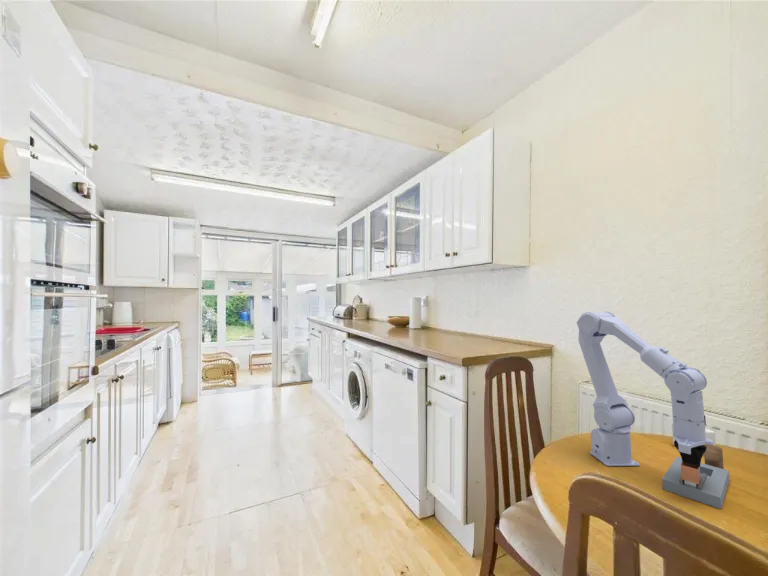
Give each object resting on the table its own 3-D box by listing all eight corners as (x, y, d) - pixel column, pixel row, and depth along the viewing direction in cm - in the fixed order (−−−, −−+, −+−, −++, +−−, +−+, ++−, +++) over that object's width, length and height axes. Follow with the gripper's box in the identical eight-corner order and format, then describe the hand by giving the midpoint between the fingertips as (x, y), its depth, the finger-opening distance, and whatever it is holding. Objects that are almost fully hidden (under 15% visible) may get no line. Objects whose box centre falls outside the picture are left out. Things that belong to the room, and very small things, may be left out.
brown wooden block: (714, 474, 84) (712, 450, 85) (701, 467, 88) (699, 444, 88) (728, 474, 84) (726, 450, 85) (714, 467, 88) (712, 444, 88)
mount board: (721, 509, 70) (720, 494, 71) (662, 489, 78) (661, 475, 78) (729, 480, 82) (728, 467, 82) (677, 465, 89) (676, 453, 90)
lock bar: (699, 489, 74) (697, 469, 74) (681, 483, 76) (680, 464, 76) (703, 478, 78) (702, 459, 78) (687, 473, 81) (685, 455, 81)
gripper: (707, 430, 70) (711, 493, 69) (714, 415, 79) (718, 470, 78) (665, 421, 76) (669, 479, 75) (677, 408, 85) (680, 459, 84)
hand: (691, 474), depth 77 cm, fingers closed, pressing on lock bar
